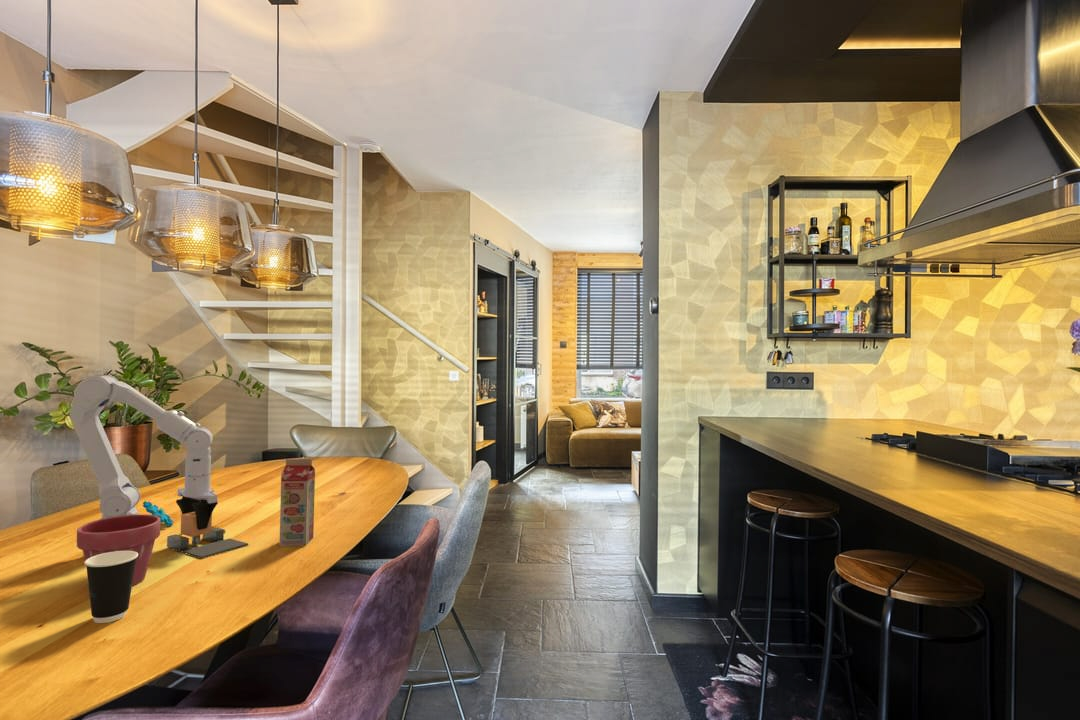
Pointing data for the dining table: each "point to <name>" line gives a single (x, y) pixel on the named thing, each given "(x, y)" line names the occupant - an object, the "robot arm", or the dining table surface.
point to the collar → (193, 525)
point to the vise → (194, 539)
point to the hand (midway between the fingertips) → (196, 527)
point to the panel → (215, 548)
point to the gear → (158, 513)
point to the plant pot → (121, 538)
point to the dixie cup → (110, 584)
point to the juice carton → (297, 503)
